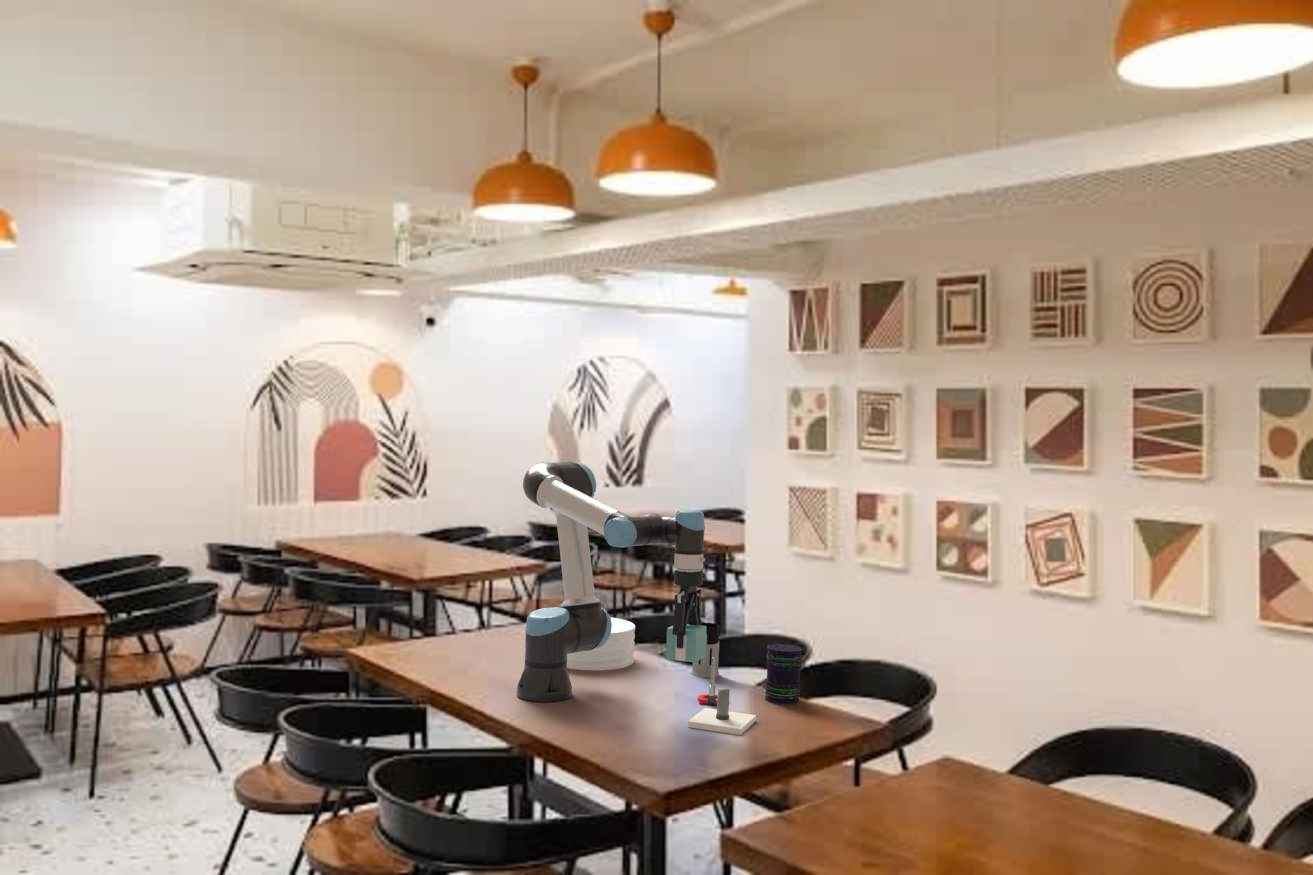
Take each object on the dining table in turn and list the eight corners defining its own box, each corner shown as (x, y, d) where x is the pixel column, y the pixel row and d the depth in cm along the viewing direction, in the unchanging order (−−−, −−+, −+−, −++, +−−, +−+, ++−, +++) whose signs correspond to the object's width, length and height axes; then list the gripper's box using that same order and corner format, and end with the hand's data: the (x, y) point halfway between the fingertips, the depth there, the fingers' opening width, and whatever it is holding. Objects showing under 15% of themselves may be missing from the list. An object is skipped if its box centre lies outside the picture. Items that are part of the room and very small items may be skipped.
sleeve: (666, 659, 278) (666, 628, 278) (676, 653, 286) (677, 623, 286) (695, 662, 275) (696, 631, 275) (705, 656, 283) (706, 626, 283)
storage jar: (806, 700, 304) (809, 648, 304) (786, 706, 297) (788, 652, 296) (778, 693, 311) (780, 641, 310) (757, 698, 304) (759, 646, 303)
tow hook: (699, 697, 305) (695, 704, 296) (702, 651, 305) (698, 656, 296) (729, 699, 304) (726, 706, 294) (731, 653, 304) (728, 659, 295)
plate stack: (650, 659, 347) (652, 624, 347) (599, 675, 323) (601, 637, 323) (580, 646, 362) (581, 612, 362) (527, 660, 338) (528, 624, 338)
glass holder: (719, 671, 334) (722, 623, 334) (717, 682, 320) (720, 632, 320) (691, 669, 335) (693, 621, 335) (688, 680, 321) (690, 630, 321)
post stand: (687, 726, 274) (689, 691, 273) (704, 713, 287) (706, 679, 286) (740, 735, 269) (742, 699, 268) (755, 720, 282) (757, 686, 282)
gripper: (688, 575, 269) (686, 666, 270) (715, 566, 289) (712, 651, 289) (660, 573, 272) (658, 663, 272) (688, 564, 291) (686, 648, 292)
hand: (686, 656), depth 281 cm, fingers closed on sleeve, 8 cm apart
